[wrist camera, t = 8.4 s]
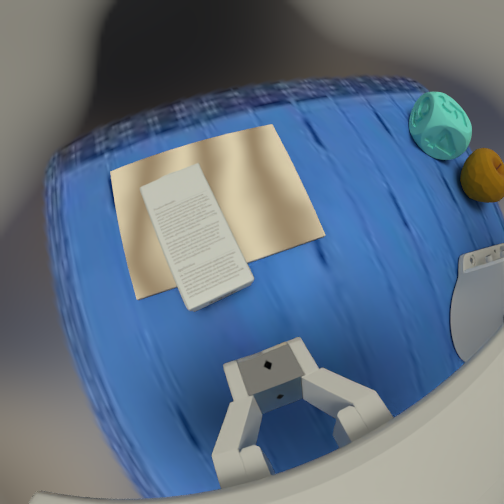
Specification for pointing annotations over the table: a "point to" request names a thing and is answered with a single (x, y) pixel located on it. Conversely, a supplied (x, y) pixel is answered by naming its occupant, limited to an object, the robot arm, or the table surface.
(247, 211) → the birch board
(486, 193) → the apple
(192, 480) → the table surface
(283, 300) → the table surface
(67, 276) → the table surface
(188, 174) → the skincare box
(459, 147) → the decorative dice
